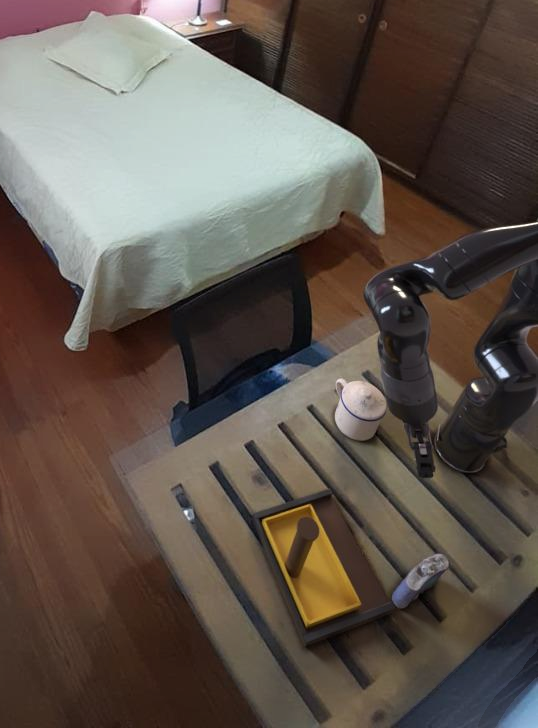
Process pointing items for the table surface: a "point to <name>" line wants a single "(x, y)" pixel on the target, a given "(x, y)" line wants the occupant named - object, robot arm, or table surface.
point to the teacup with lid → (359, 409)
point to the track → (349, 558)
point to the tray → (310, 566)
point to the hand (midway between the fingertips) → (419, 452)
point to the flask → (420, 579)
